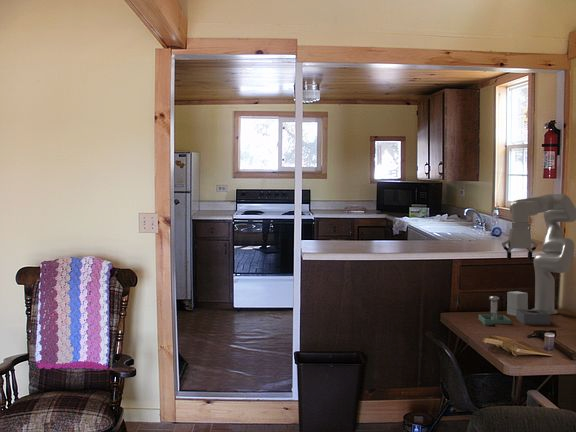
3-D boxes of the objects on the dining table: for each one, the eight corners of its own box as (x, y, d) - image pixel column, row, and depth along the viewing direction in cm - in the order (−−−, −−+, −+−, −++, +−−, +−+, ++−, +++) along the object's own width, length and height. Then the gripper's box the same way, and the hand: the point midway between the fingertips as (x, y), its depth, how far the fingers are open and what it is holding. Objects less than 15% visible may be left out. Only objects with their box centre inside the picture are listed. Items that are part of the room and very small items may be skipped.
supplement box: (528, 317, 285) (528, 293, 284) (517, 318, 282) (517, 293, 282) (517, 314, 292) (517, 290, 291) (506, 315, 289) (506, 291, 289)
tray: (478, 320, 278) (478, 314, 278) (503, 320, 276) (503, 315, 276) (484, 325, 266) (484, 319, 266) (511, 326, 264) (511, 320, 264)
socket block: (516, 321, 275) (516, 309, 275) (541, 321, 274) (541, 309, 274) (524, 326, 263) (524, 314, 263) (550, 327, 262) (550, 314, 262)
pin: (488, 320, 273) (488, 296, 273) (497, 320, 273) (497, 296, 273) (490, 322, 269) (490, 297, 269) (499, 322, 269) (500, 297, 268)
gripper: (535, 225, 280) (534, 259, 280) (499, 225, 282) (499, 259, 282) (540, 226, 272) (540, 261, 273) (504, 226, 274) (503, 260, 275)
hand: (519, 259), depth 277 cm, fingers open, 9 cm apart
